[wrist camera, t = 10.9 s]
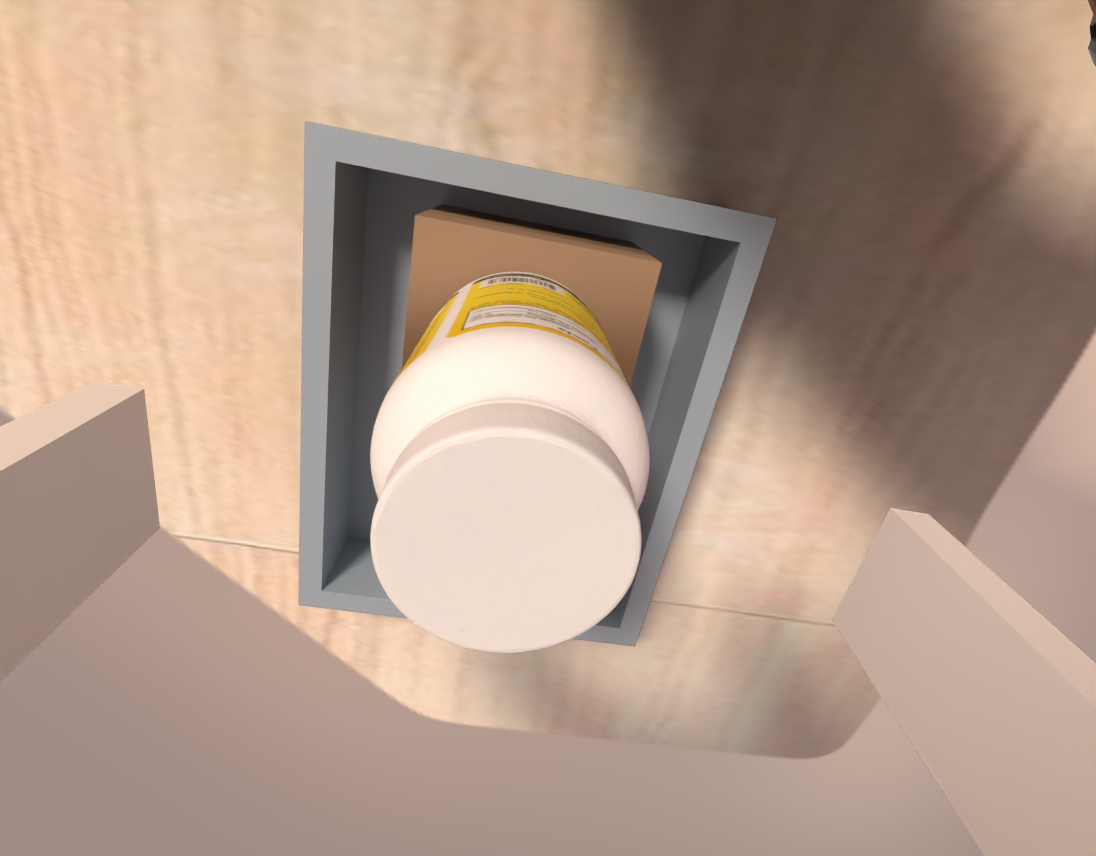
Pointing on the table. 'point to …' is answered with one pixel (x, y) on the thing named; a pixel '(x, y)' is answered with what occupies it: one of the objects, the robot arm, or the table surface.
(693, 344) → the crate
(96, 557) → the robot arm
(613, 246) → the walnut block
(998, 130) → the table surface
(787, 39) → the table surface
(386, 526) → the pill bottle
